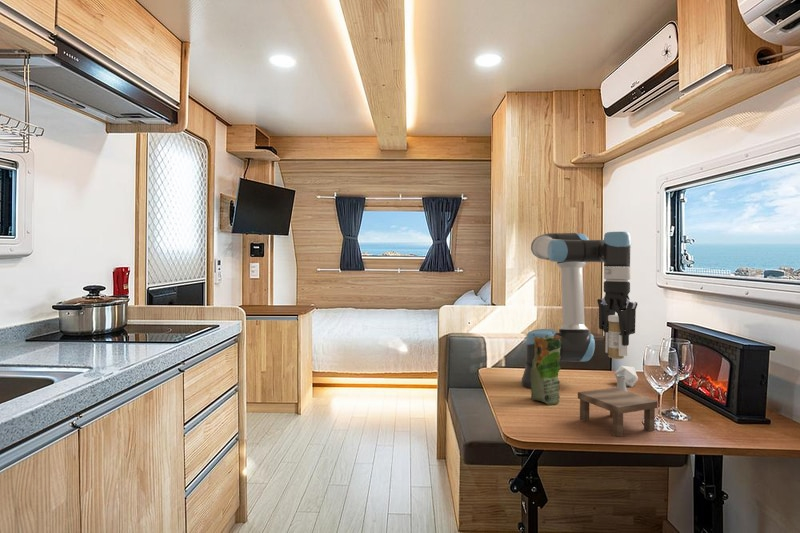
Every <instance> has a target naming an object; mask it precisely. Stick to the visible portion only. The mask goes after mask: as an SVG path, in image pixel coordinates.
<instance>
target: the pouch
mask: <svg viewBox="0 0 800 533" xmlns="http://www.w3.org/2000/svg"><path fill="white" fill-rule="evenodd" d="M561 337H562V336H559V335H553V336H550V337H549V336H548V335H546V337H545V338H543V337H541V338H539V337H536V336H535V337H534V338H533V339H534V346H535V356H534V359H533V360H532V361H533V363H532V368H531V378H530V380H531V388H530V390H531V391H530V393H531V396H530V397H531V398H530V399H531V401H533V400H534V401H538V402H539V401H540V402H542V403H544V404H546V405H547V406H555V405H557V404H559V403H560V397H561V396H560V393H559V391H560V383H561V382H560V379H559V372H560V370H561V366H560V362H561V361H560V358H561V357H560V348H561V343H562V342H561Z"/></svg>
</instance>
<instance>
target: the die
mask: <svg viewBox="0 0 800 533" xmlns="http://www.w3.org/2000/svg"><path fill="white" fill-rule="evenodd" d="M617 375H624V376H626V379H625V384H626V387H629V388H632V387H634V386H635V385H636V382H638V380H639V377H638V375H637V372H636V369H635V367H634V366H628V365H627V366H626V365H620V366H619V367H618V369H616V371H615V372H614V376H615V378H616V379H617Z"/></svg>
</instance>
